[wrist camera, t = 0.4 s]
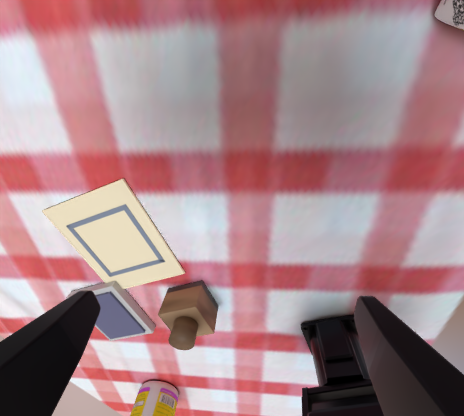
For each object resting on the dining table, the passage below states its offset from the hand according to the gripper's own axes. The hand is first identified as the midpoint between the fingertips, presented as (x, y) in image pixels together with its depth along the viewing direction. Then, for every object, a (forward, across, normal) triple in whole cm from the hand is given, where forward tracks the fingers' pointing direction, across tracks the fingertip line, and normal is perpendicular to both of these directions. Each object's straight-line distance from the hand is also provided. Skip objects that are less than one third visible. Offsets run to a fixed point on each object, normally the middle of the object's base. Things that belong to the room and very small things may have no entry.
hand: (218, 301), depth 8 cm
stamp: (+14, +7, +16) cm, 22 cm away
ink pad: (+14, +18, +18) cm, 29 cm away
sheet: (+14, +14, +8) cm, 21 cm away
